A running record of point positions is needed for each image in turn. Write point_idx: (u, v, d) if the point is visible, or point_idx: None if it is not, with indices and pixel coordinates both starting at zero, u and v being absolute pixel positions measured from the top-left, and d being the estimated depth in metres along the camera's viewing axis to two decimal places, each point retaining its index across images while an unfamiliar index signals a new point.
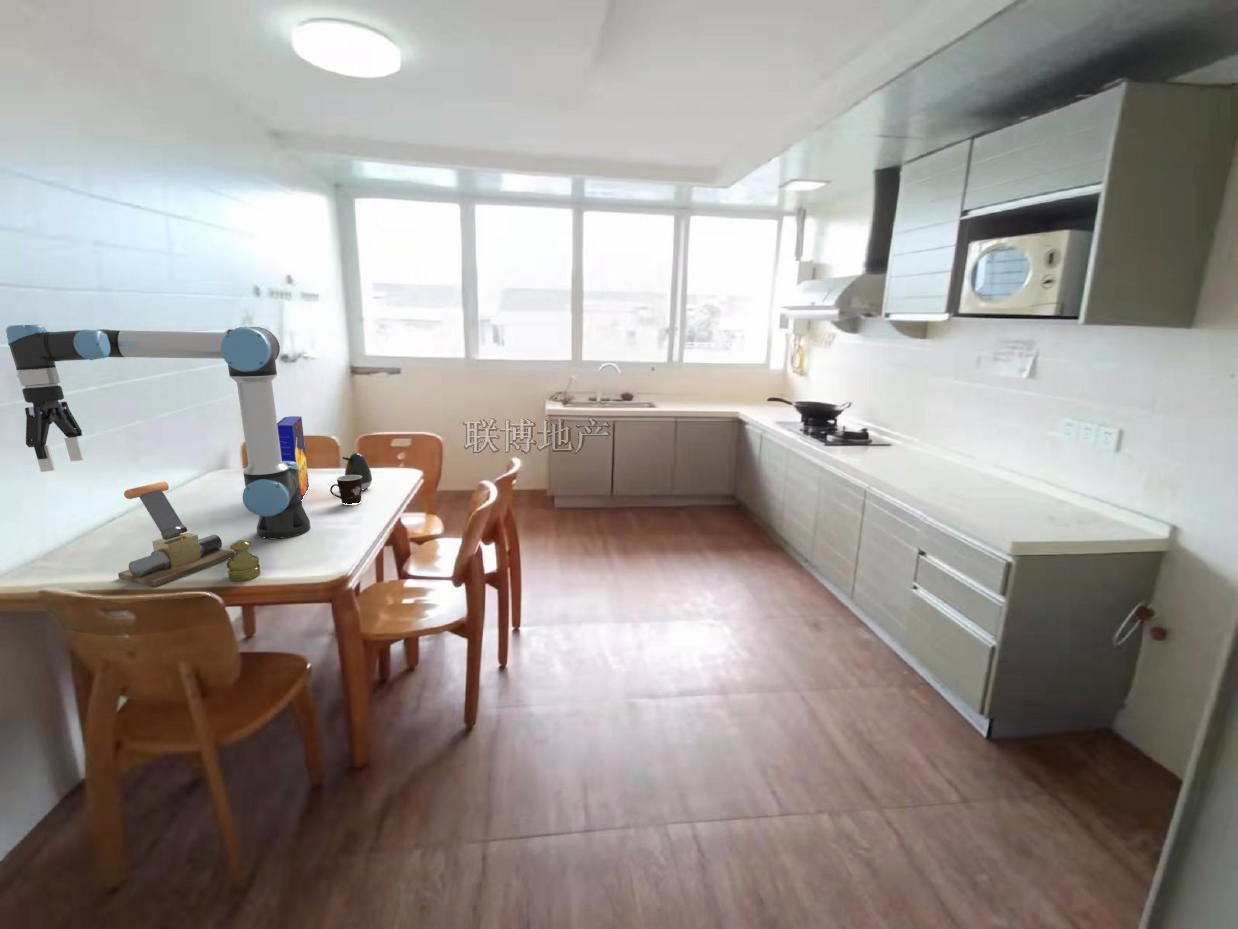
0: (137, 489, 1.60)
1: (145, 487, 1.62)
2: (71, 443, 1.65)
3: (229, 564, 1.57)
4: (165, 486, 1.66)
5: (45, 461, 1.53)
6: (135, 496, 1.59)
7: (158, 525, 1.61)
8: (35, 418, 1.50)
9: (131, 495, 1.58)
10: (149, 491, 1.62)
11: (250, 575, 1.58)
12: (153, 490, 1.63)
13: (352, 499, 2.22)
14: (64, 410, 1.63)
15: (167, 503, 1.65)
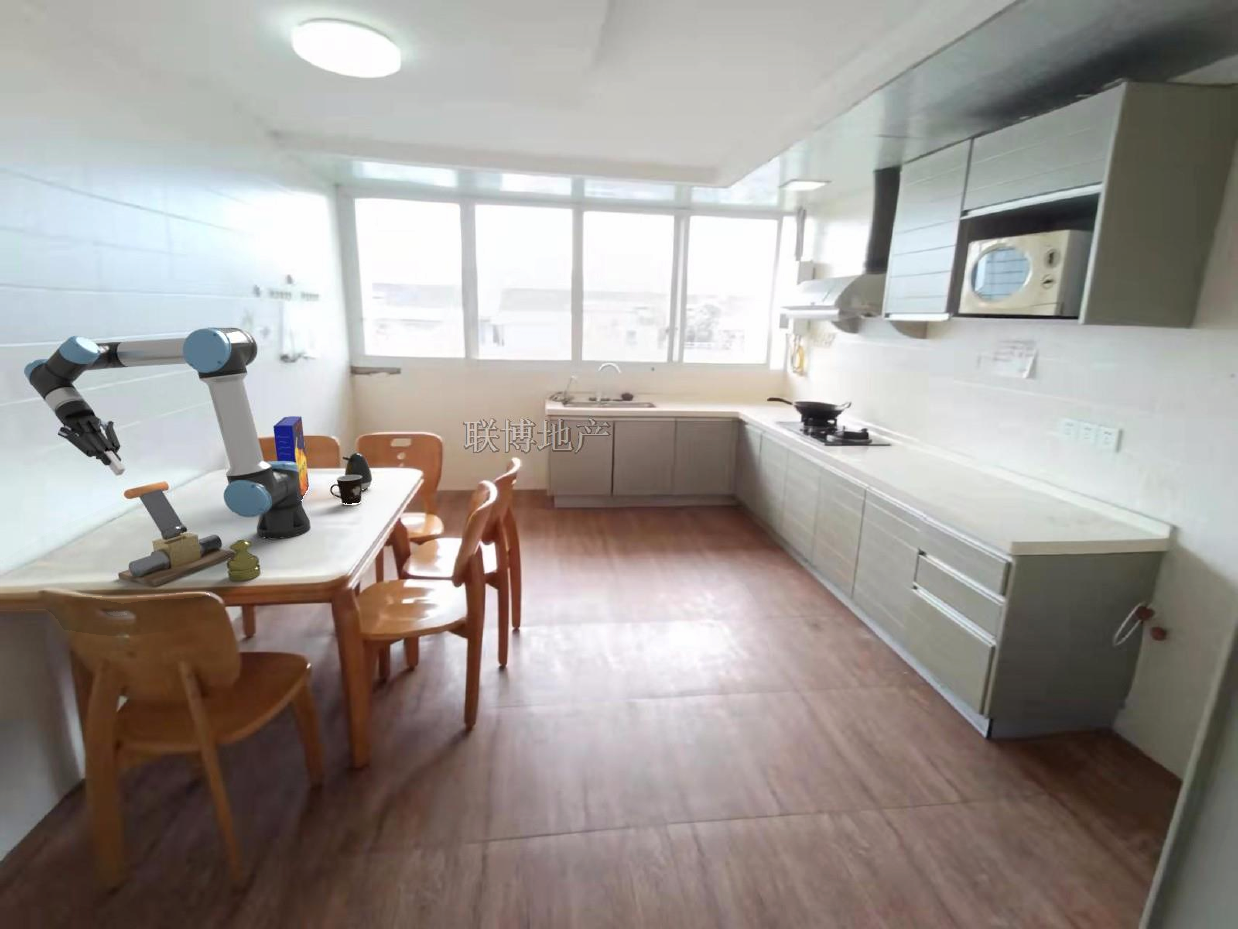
0: (137, 489, 1.60)
1: (145, 487, 1.62)
2: None
3: (229, 564, 1.57)
4: (165, 486, 1.66)
5: (112, 465, 1.65)
6: (135, 496, 1.59)
7: (158, 525, 1.61)
8: (70, 436, 1.61)
9: (131, 495, 1.58)
10: (149, 491, 1.62)
11: (250, 575, 1.58)
12: (153, 490, 1.63)
13: (352, 499, 2.22)
14: (107, 427, 1.70)
15: (167, 503, 1.65)
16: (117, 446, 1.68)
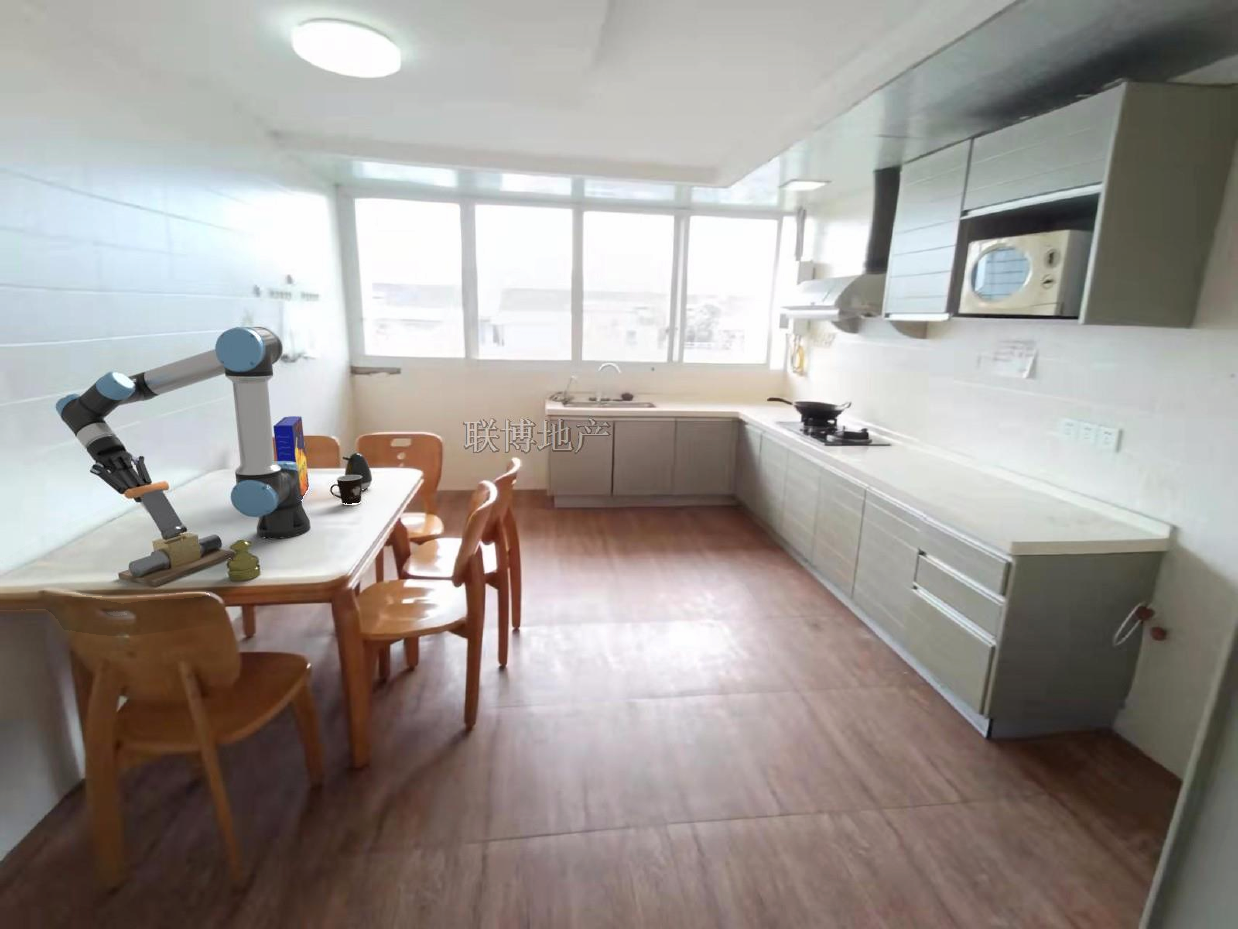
0: (137, 489, 1.60)
1: (145, 487, 1.62)
2: None
3: (229, 564, 1.56)
4: (165, 486, 1.66)
5: None
6: (135, 496, 1.59)
7: (158, 525, 1.61)
8: (102, 473, 1.60)
9: (131, 495, 1.58)
10: (149, 491, 1.62)
11: (250, 575, 1.58)
12: (153, 490, 1.63)
13: (352, 499, 2.22)
14: (138, 462, 1.68)
15: (167, 503, 1.64)
16: (148, 482, 1.66)
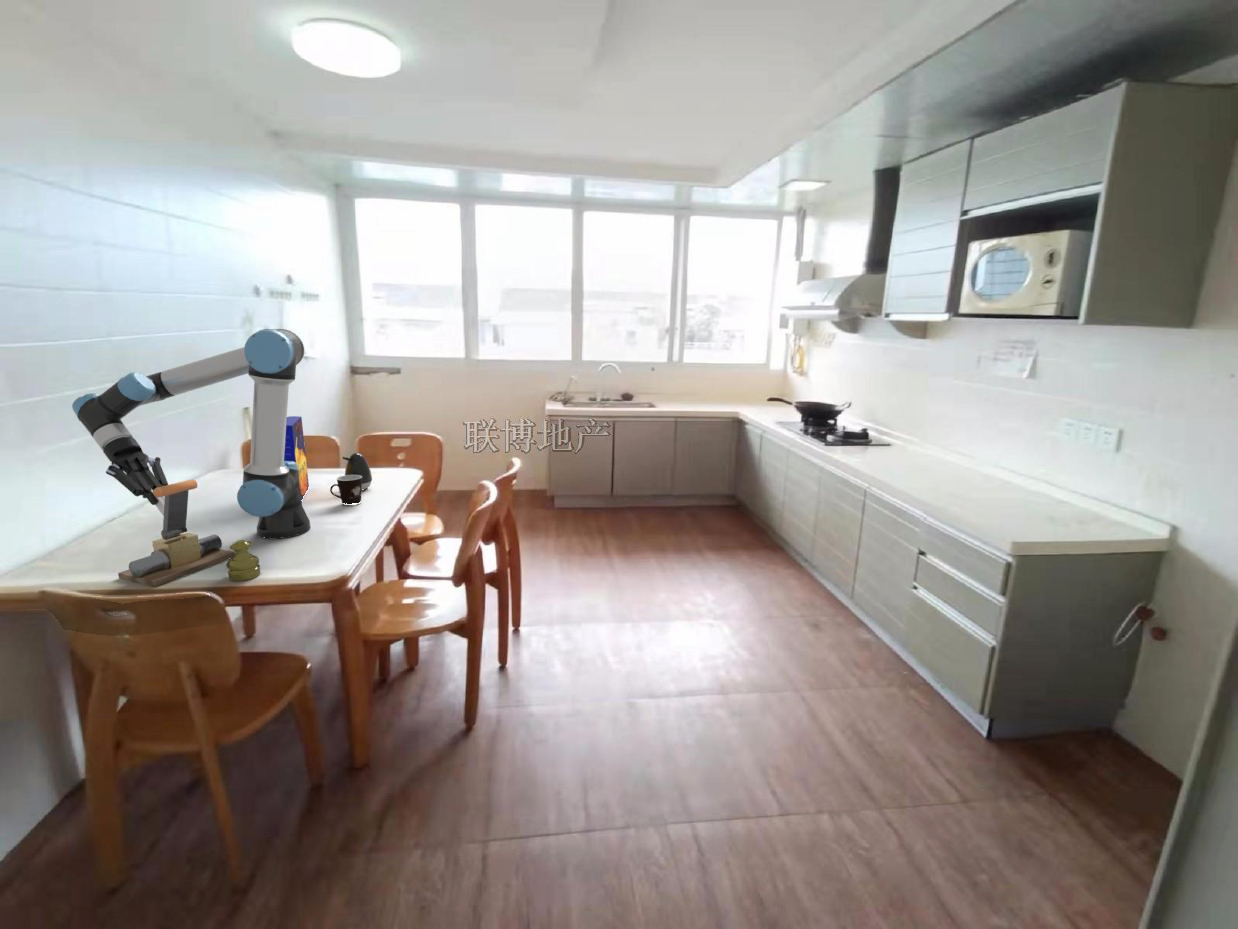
0: (168, 491, 1.56)
1: (176, 489, 1.57)
2: None
3: (229, 564, 1.56)
4: (193, 488, 1.62)
5: (159, 504, 1.60)
6: None
7: (165, 524, 1.60)
8: (118, 474, 1.57)
9: (159, 496, 1.54)
10: (177, 492, 1.58)
11: (250, 575, 1.58)
12: (181, 491, 1.59)
13: (352, 499, 2.22)
14: (154, 464, 1.66)
15: (185, 504, 1.62)
16: (165, 484, 1.64)
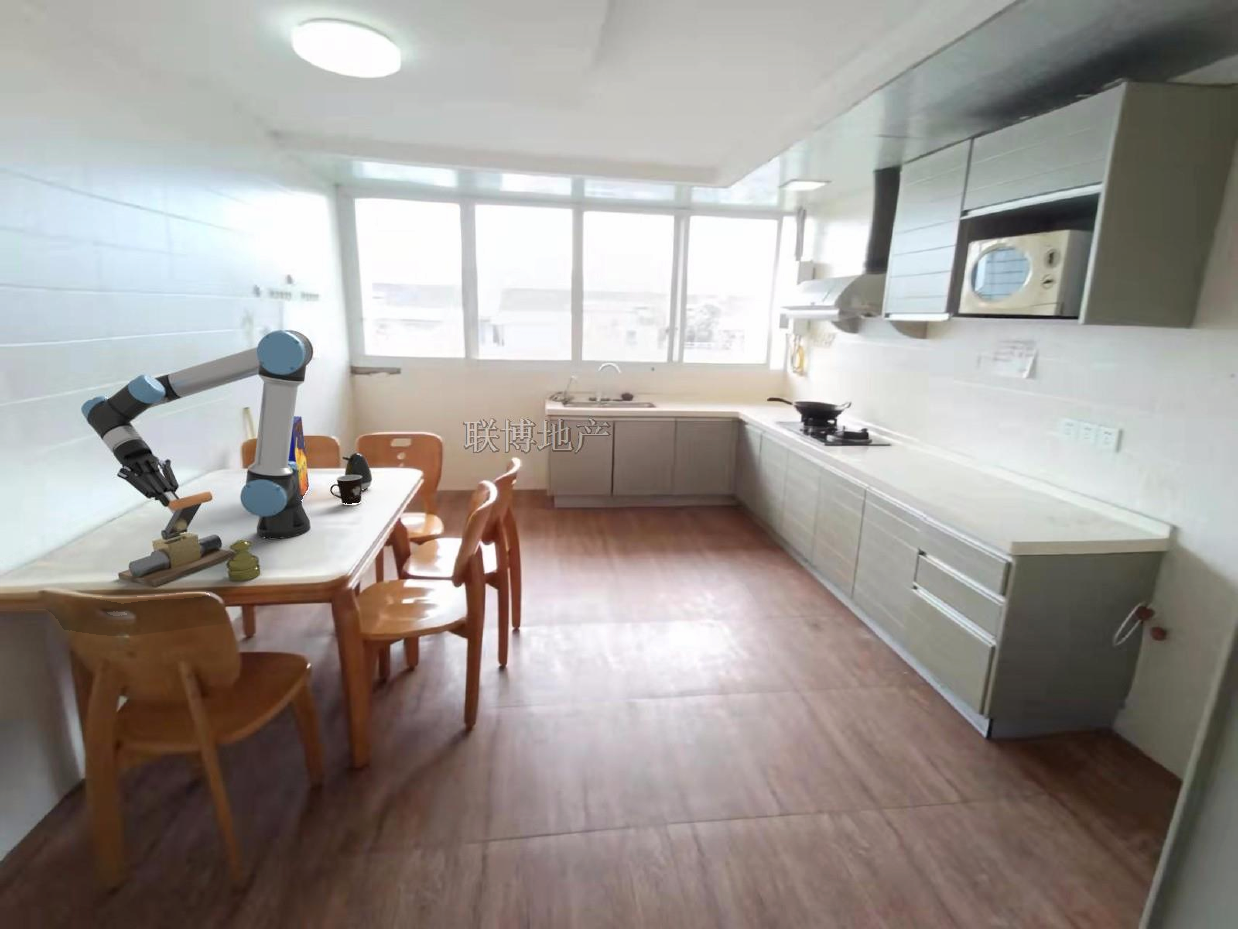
0: (183, 506, 1.55)
1: (191, 504, 1.57)
2: None
3: (229, 564, 1.56)
4: (207, 501, 1.61)
5: None
6: None
7: (168, 527, 1.60)
8: (130, 477, 1.56)
9: None
10: (191, 505, 1.57)
11: (250, 575, 1.58)
12: (195, 504, 1.58)
13: (352, 499, 2.22)
14: (164, 466, 1.65)
15: (194, 513, 1.62)
16: (176, 486, 1.63)
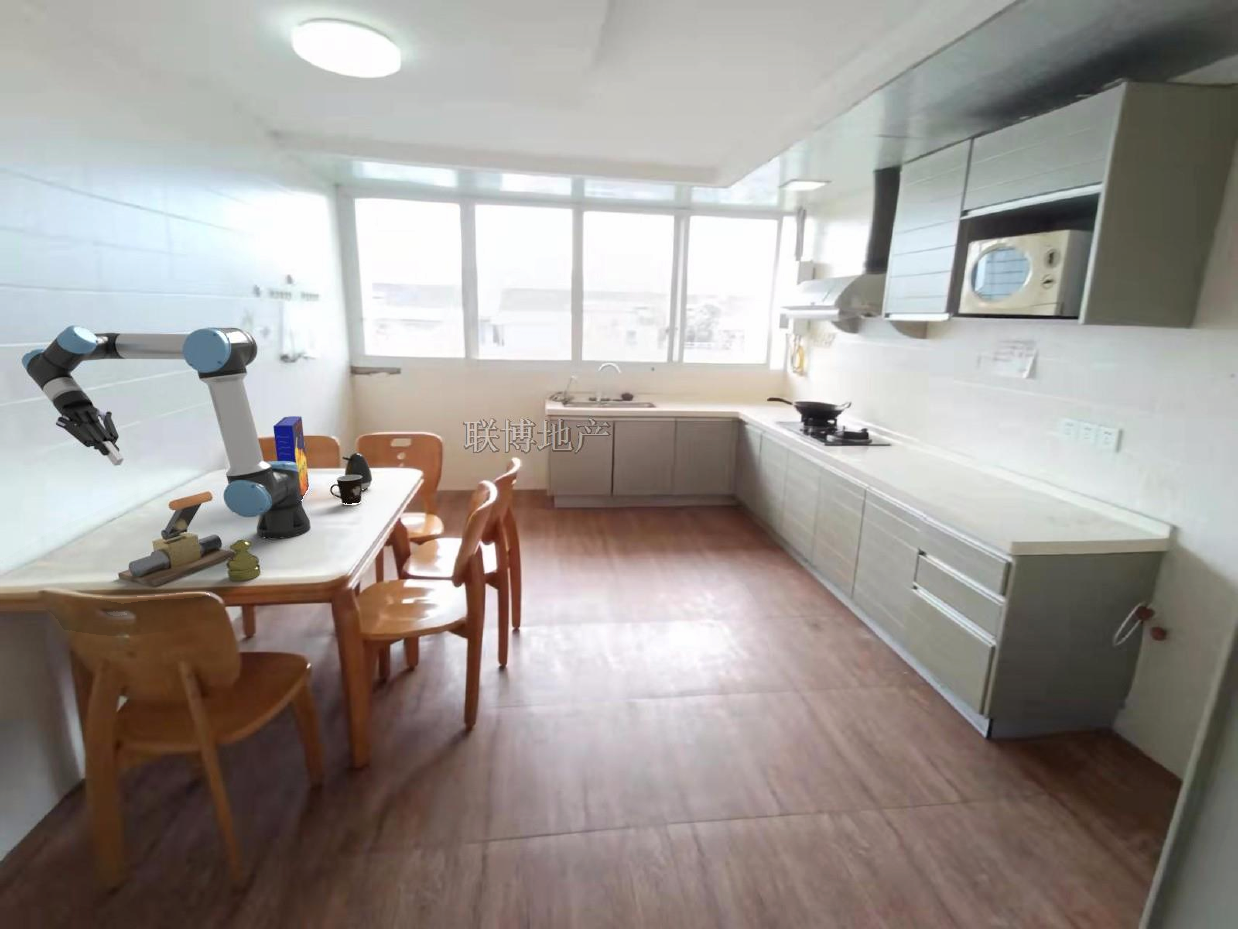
0: (184, 506, 1.55)
1: (191, 504, 1.57)
2: None
3: (229, 564, 1.56)
4: (207, 501, 1.61)
5: (110, 455, 1.64)
6: None
7: (168, 527, 1.60)
8: (68, 426, 1.61)
9: None
10: (191, 505, 1.57)
11: (250, 575, 1.58)
12: (195, 505, 1.58)
13: (352, 499, 2.22)
14: (105, 417, 1.69)
15: (194, 513, 1.62)
16: (115, 436, 1.67)
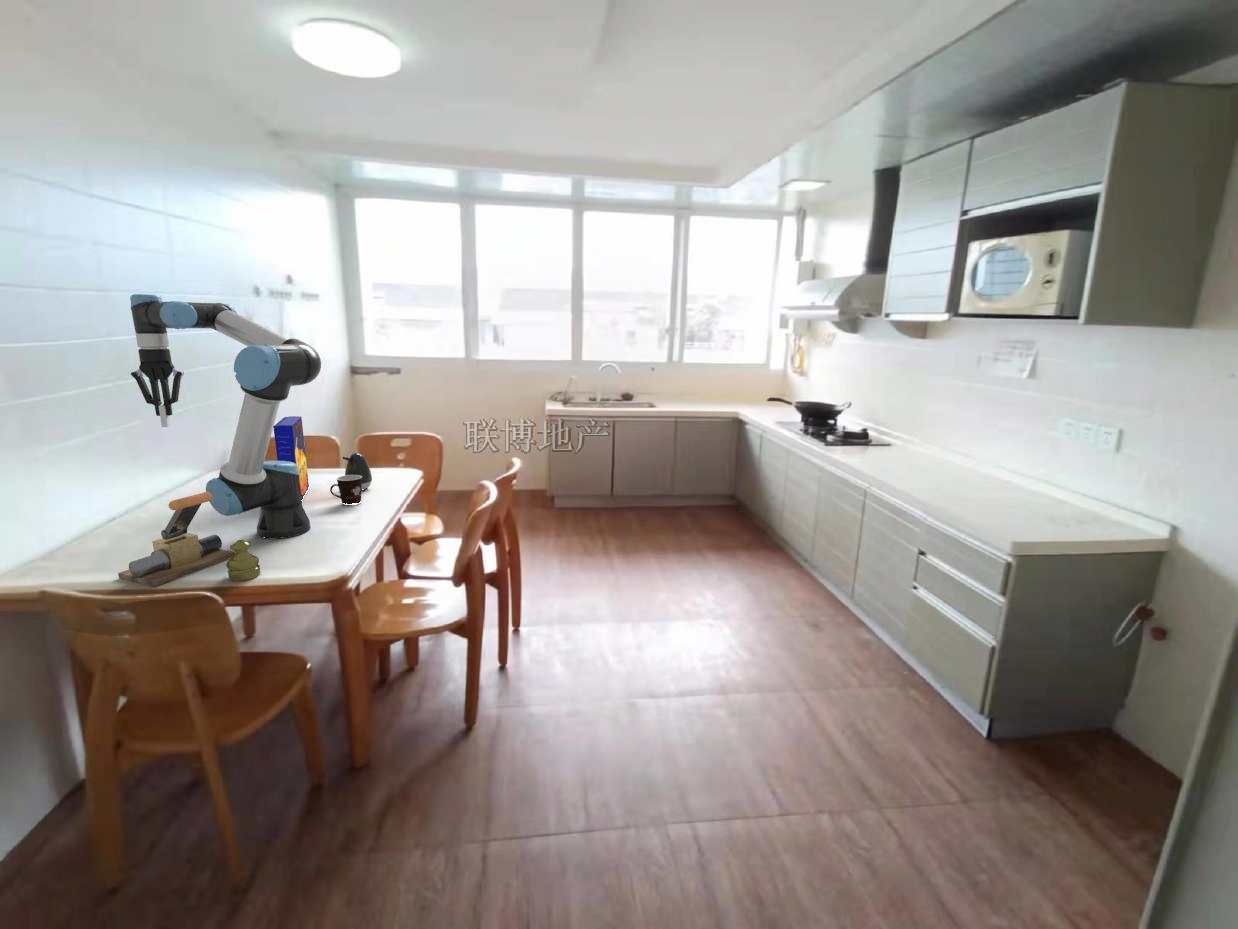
0: (184, 506, 1.55)
1: (191, 504, 1.57)
2: None
3: (229, 564, 1.56)
4: (207, 501, 1.61)
5: None
6: None
7: (168, 527, 1.60)
8: None
9: None
10: (191, 505, 1.57)
11: (250, 575, 1.58)
12: (195, 505, 1.58)
13: (352, 499, 2.22)
14: None
15: (194, 513, 1.62)
16: (172, 401, 1.82)
